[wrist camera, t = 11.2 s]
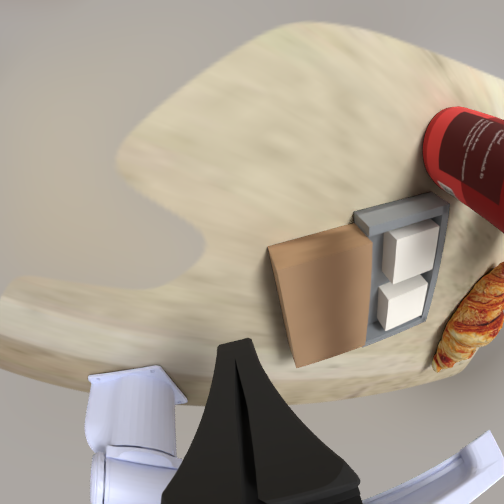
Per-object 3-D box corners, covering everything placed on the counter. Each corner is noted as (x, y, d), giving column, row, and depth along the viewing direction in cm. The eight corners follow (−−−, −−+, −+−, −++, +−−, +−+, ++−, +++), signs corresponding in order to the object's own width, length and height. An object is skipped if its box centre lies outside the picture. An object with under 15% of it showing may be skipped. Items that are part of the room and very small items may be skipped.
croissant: (431, 344, 42) (462, 369, 37) (408, 375, 37) (443, 404, 32) (492, 241, 31) (531, 269, 26) (484, 258, 25) (532, 295, 20)
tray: (353, 330, 29) (362, 347, 27) (353, 211, 21) (369, 227, 19) (414, 306, 29) (425, 320, 27) (431, 191, 21) (449, 203, 19)
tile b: (432, 269, 23) (420, 256, 24) (439, 226, 20) (425, 214, 22) (392, 284, 23) (381, 270, 24) (396, 239, 20) (383, 227, 22)
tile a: (421, 314, 26) (412, 302, 28) (427, 283, 24) (416, 270, 25) (385, 331, 26) (376, 317, 28) (388, 300, 24) (378, 286, 25)
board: (288, 344, 28) (296, 368, 26) (267, 246, 22) (276, 270, 19) (353, 324, 28) (365, 345, 26) (354, 222, 22) (372, 242, 19)
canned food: (476, 178, 21) (559, 235, 12) (420, 197, 22) (512, 272, 12) (476, 102, 17) (576, 141, 8) (415, 108, 17) (537, 153, 8)
